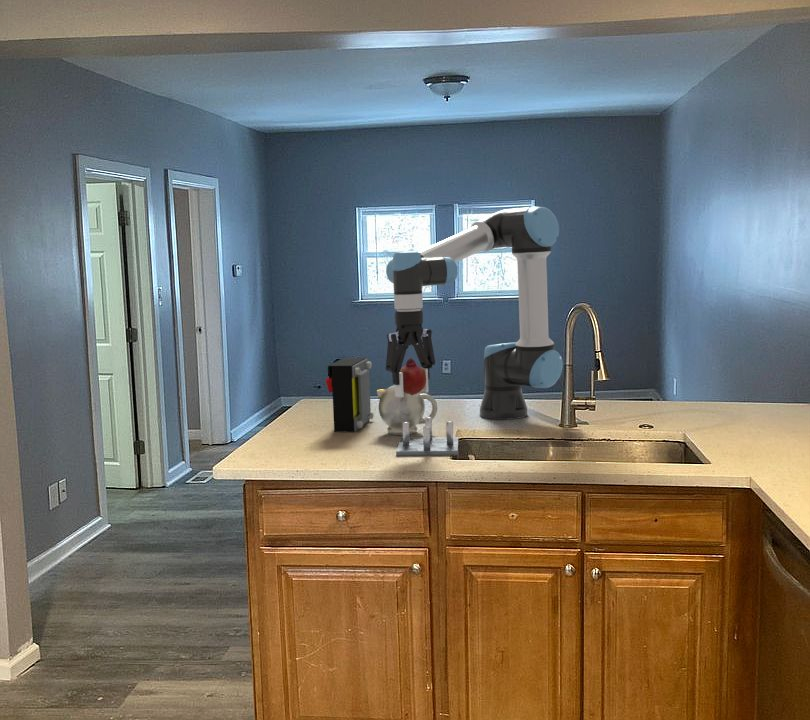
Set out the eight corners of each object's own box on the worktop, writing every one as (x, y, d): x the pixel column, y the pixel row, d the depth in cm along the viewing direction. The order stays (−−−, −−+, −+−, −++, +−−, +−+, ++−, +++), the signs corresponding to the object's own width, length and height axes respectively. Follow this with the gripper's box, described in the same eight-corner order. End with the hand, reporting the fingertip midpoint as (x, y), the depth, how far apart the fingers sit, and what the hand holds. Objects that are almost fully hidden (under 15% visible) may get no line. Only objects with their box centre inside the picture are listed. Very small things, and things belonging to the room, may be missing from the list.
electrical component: (361, 432, 251) (358, 365, 249) (328, 431, 254) (325, 365, 251) (374, 420, 269) (372, 357, 266) (343, 419, 271) (341, 357, 268)
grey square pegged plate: (458, 441, 236) (457, 415, 235) (457, 455, 220) (456, 428, 219) (401, 442, 237) (400, 416, 236) (396, 455, 221) (395, 428, 220)
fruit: (430, 392, 231) (428, 356, 229) (423, 398, 223) (421, 360, 222) (401, 392, 233) (399, 356, 232) (393, 397, 225) (392, 360, 224)
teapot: (372, 437, 244) (370, 381, 242) (382, 427, 257) (380, 374, 255) (434, 438, 240) (432, 381, 238) (441, 428, 254) (439, 374, 252)
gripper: (429, 306, 234) (432, 387, 237) (368, 312, 221) (372, 398, 224) (447, 307, 228) (450, 390, 231) (386, 313, 215) (390, 401, 219)
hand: (411, 394), depth 228 cm, fingers closed on fruit, 8 cm apart
